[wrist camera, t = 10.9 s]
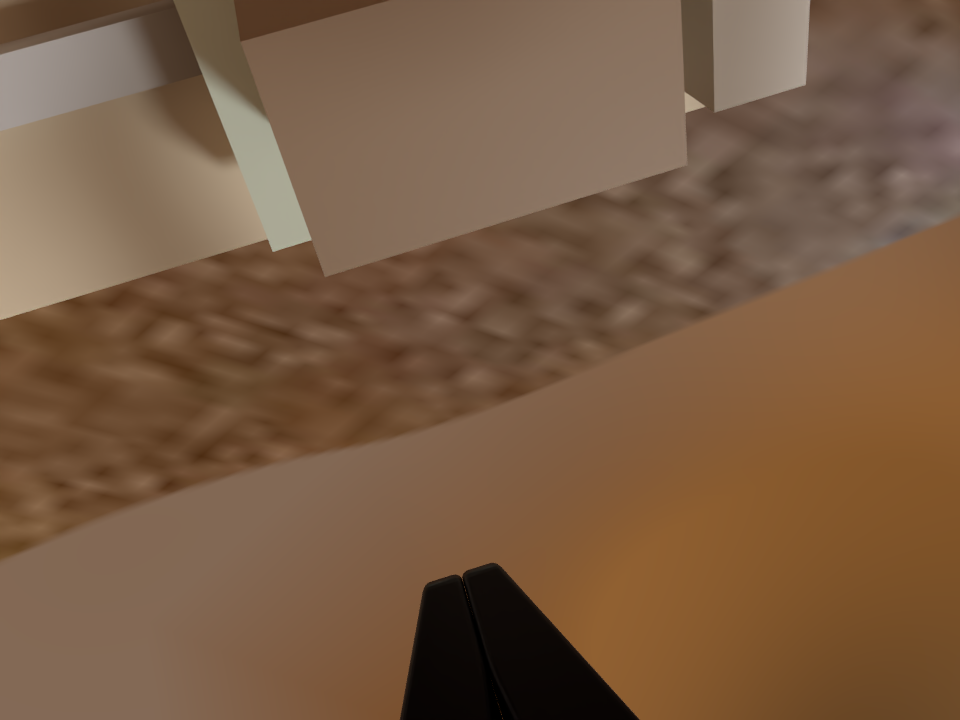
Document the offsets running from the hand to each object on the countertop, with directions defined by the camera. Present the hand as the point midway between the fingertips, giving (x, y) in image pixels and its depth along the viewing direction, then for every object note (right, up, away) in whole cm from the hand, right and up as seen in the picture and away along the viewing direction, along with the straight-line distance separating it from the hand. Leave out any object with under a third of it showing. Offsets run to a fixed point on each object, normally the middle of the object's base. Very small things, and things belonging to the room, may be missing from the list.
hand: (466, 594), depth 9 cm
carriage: (-1, +9, +6) cm, 11 cm away
